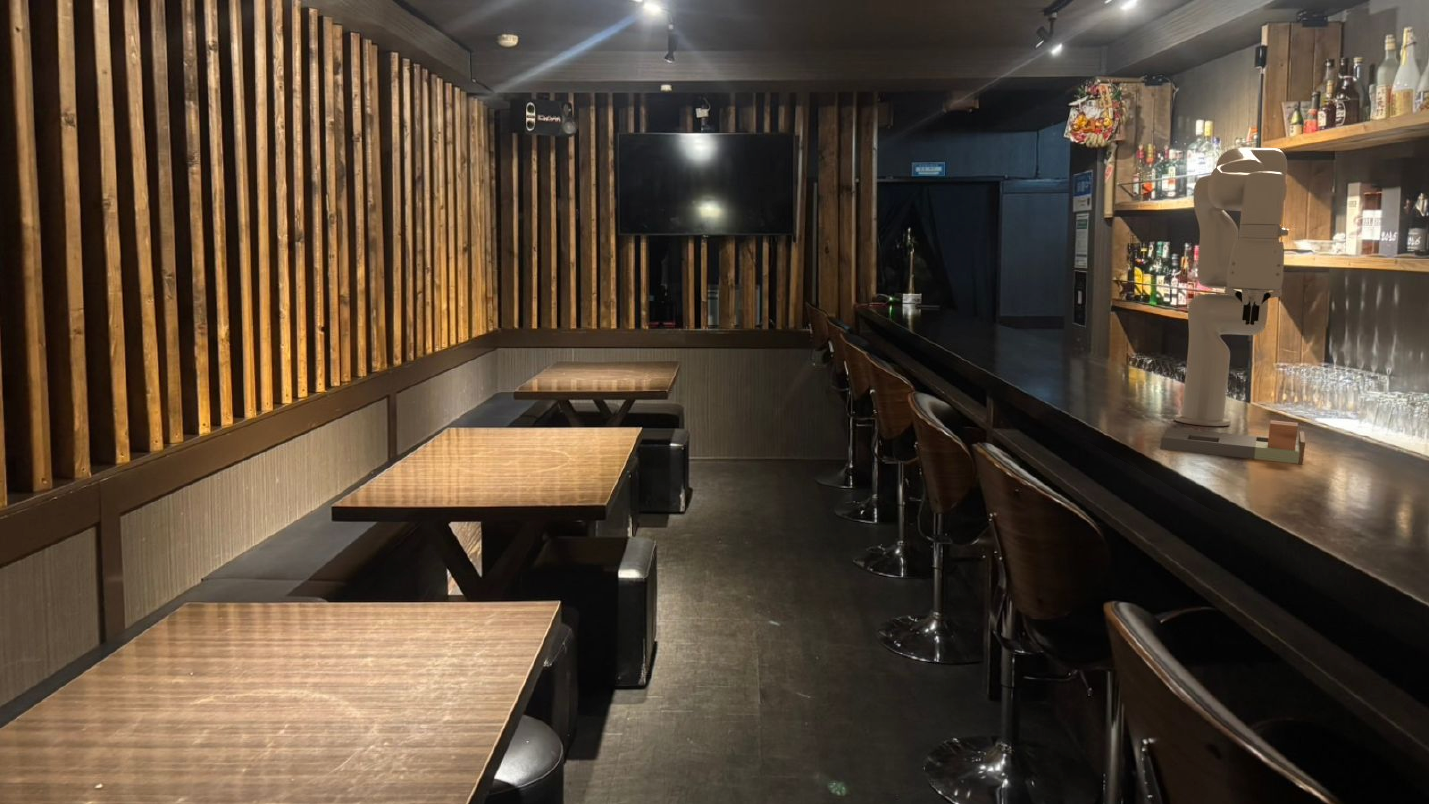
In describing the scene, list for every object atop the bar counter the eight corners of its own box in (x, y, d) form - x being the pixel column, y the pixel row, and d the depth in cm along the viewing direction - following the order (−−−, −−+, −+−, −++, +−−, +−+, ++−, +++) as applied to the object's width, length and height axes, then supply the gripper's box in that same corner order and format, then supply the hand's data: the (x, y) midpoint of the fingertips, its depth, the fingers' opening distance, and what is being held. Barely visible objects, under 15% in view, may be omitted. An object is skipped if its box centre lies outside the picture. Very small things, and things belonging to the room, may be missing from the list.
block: (1268, 443, 230) (1270, 420, 230) (1295, 446, 228) (1297, 422, 227) (1267, 447, 226) (1270, 423, 225) (1295, 450, 224) (1297, 426, 223)
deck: (1166, 438, 248) (1168, 418, 247) (1301, 452, 236) (1303, 431, 235) (1159, 448, 234) (1161, 427, 234) (1302, 464, 223) (1305, 442, 222)
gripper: (1300, 235, 225) (1290, 325, 228) (1219, 233, 231) (1211, 321, 234) (1301, 235, 218) (1290, 328, 221) (1218, 232, 225) (1209, 323, 228)
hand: (1249, 324), depth 228 cm, fingers closed
